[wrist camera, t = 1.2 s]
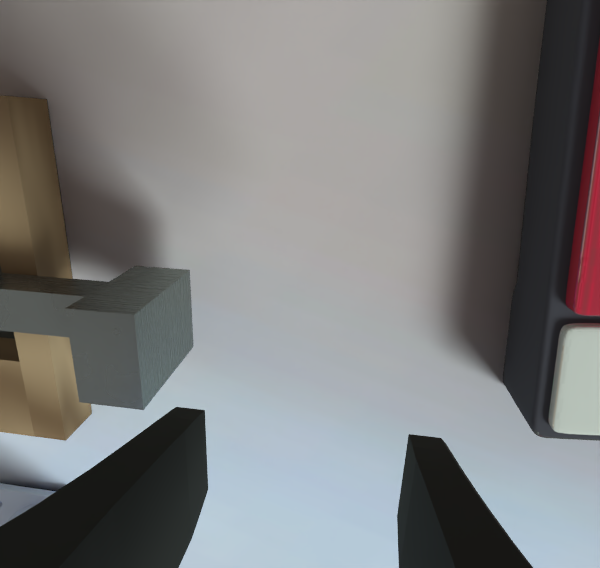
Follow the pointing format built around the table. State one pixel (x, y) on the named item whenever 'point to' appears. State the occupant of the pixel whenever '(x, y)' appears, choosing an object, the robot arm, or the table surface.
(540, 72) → the sliding block puzzle
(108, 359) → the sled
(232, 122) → the table surface
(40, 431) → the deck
